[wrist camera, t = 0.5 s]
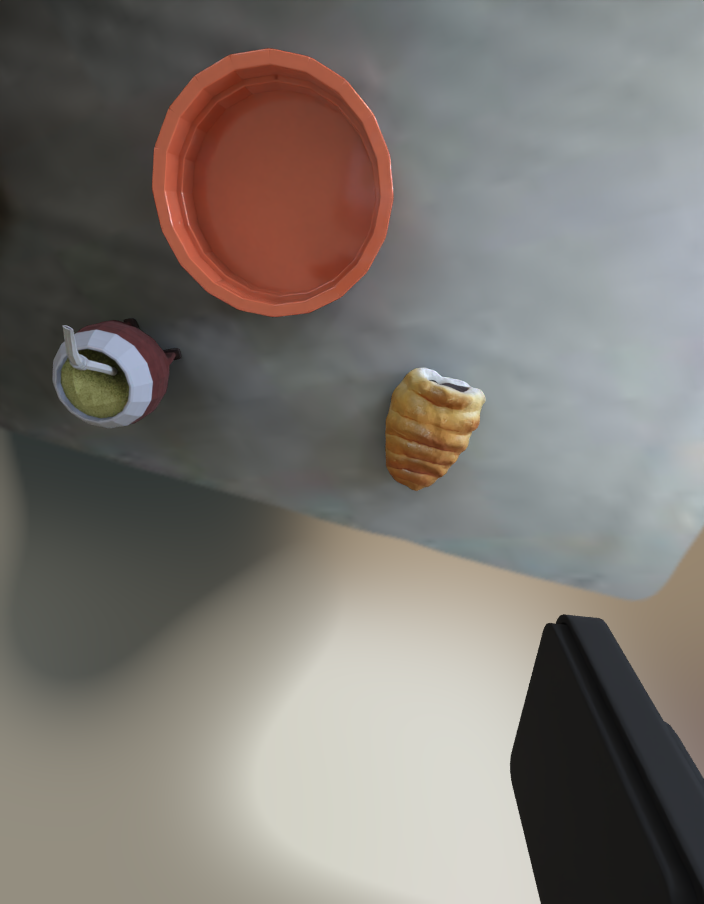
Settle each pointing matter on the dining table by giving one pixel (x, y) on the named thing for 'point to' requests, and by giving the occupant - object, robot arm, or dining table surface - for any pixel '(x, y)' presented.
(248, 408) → the dining table surface
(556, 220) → the dining table surface
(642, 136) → the dining table surface
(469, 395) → the pastry
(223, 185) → the terracotta bowl
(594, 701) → the robot arm
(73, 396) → the mate gourd
